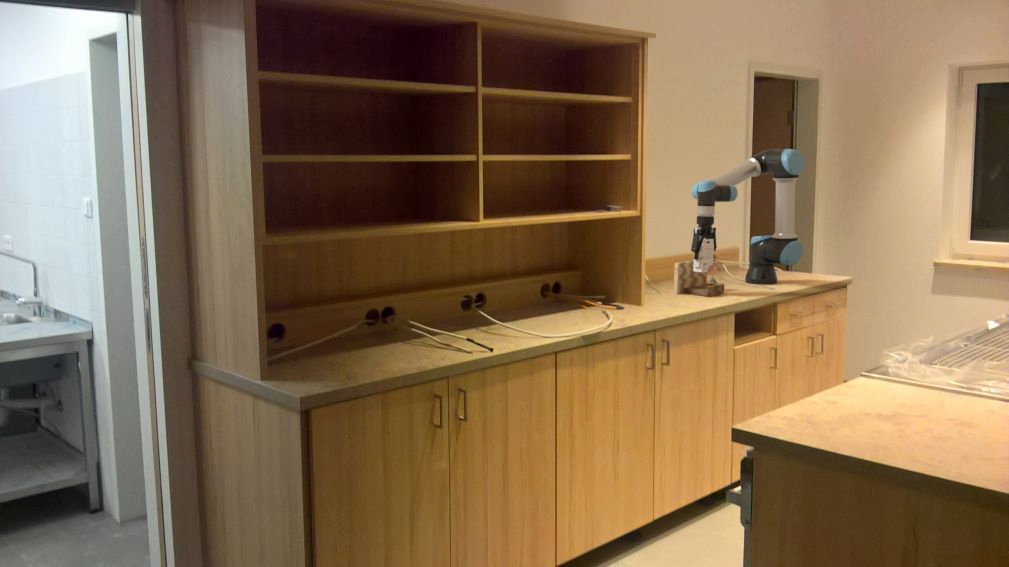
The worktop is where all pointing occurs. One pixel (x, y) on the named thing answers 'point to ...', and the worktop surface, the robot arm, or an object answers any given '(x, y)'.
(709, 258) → the ink cartridge box
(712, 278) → the yellow and green bunch
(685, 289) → the brown wooden bookend
